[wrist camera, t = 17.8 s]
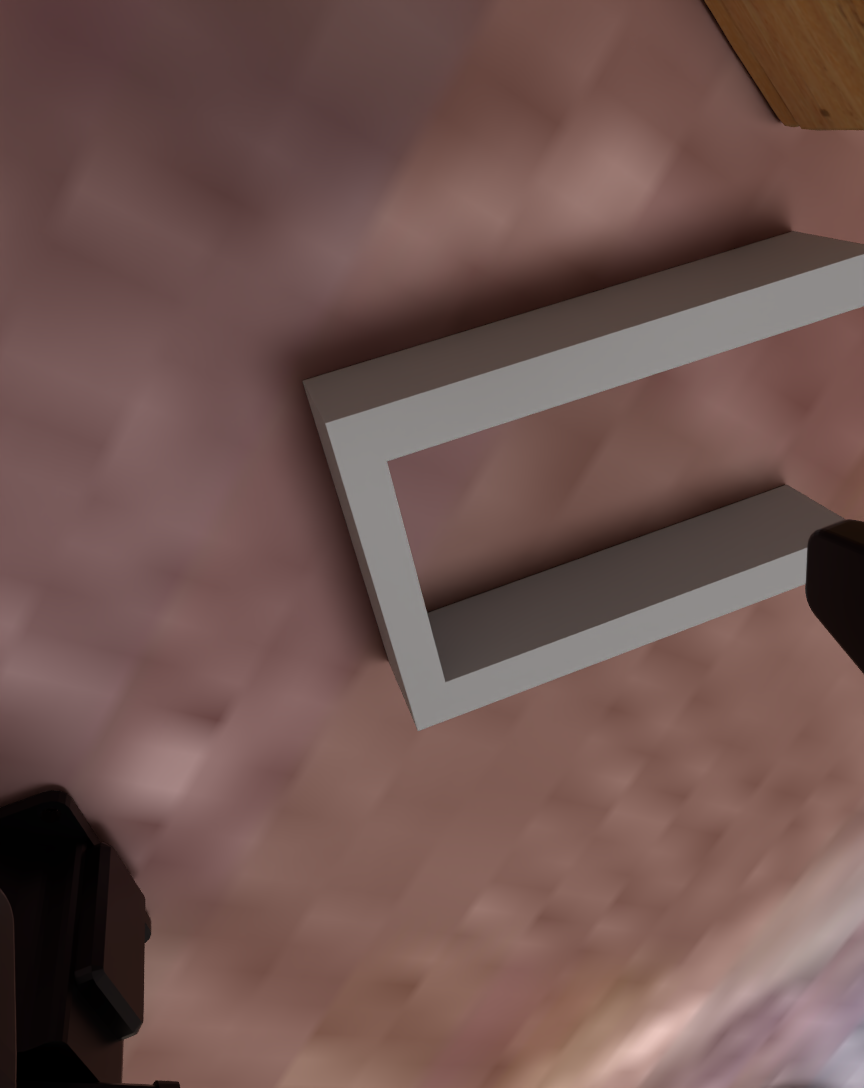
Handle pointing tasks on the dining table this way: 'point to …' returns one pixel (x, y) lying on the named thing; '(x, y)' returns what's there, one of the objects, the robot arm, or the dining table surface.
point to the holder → (551, 380)
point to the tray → (801, 57)
